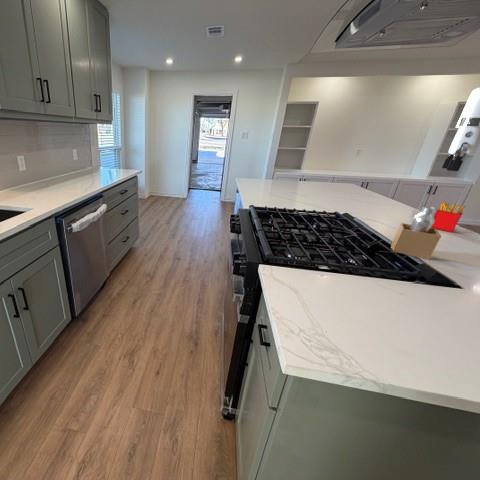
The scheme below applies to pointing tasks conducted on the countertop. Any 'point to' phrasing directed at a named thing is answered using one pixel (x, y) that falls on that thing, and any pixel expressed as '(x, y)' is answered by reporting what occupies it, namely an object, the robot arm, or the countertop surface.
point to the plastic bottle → (423, 220)
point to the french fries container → (447, 217)
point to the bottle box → (415, 241)
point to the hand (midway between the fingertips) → (449, 169)
